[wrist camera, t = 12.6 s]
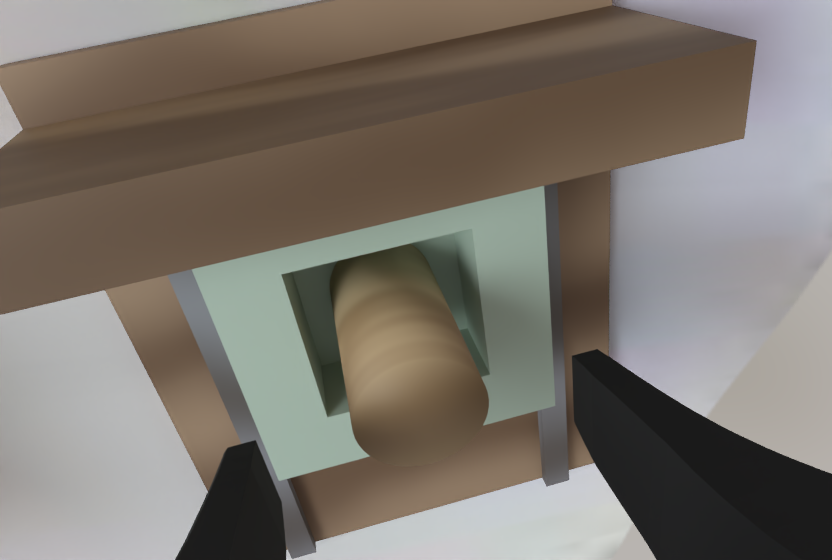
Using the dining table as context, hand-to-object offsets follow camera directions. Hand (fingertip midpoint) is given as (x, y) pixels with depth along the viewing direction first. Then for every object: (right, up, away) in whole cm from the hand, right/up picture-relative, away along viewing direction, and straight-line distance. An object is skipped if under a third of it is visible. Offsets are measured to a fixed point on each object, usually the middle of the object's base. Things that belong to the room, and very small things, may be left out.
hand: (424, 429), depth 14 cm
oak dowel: (-1, +3, +5) cm, 6 cm away
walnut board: (-1, +2, +8) cm, 8 cm away
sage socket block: (-1, +4, +6) cm, 7 cm away
